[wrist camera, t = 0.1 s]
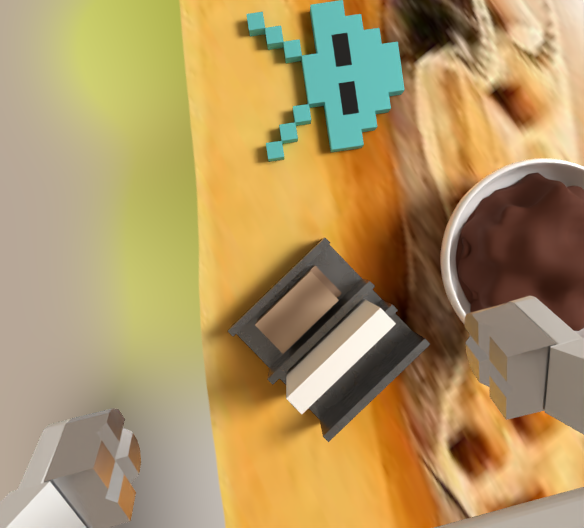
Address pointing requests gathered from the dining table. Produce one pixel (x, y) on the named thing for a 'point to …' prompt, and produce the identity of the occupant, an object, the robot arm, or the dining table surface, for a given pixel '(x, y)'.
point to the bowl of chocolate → (519, 240)
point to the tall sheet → (335, 353)
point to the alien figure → (338, 75)
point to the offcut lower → (322, 278)
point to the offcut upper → (296, 312)
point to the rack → (366, 371)
